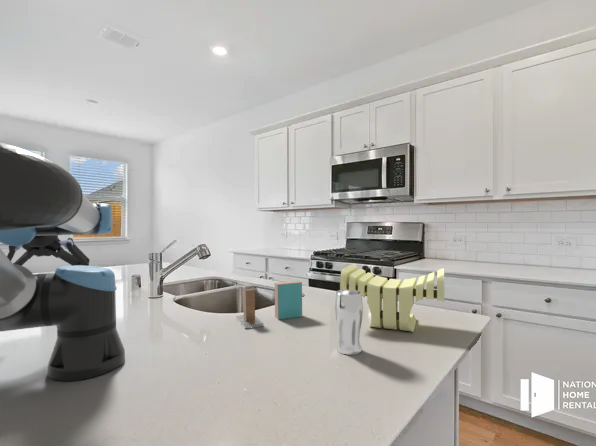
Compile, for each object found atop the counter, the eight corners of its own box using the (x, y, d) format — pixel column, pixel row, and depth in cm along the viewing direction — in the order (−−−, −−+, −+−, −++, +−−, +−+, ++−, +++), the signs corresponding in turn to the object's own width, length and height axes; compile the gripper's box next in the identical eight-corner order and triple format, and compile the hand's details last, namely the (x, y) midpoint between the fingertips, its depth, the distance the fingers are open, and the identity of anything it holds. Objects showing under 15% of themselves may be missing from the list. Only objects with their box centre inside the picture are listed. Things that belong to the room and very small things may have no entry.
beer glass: (368, 349, 85) (367, 291, 85) (353, 358, 80) (352, 296, 80) (345, 343, 90) (345, 288, 90) (330, 350, 85) (329, 292, 85)
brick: (302, 316, 115) (302, 282, 115) (278, 320, 112) (277, 284, 111) (298, 314, 118) (298, 280, 118) (275, 317, 114) (274, 282, 114)
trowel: (263, 326, 105) (263, 292, 105) (245, 329, 103) (244, 294, 102) (253, 316, 116) (252, 285, 116) (236, 319, 114) (235, 287, 113)
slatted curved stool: (340, 326, 104) (340, 269, 104) (352, 313, 119) (352, 263, 119) (444, 339, 92) (444, 275, 92) (444, 322, 107) (443, 267, 107)
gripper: (95, 218, 94) (102, 272, 106) (-19, 219, 84) (2, 278, 96) (91, 234, 89) (99, 289, 101) (-31, 237, 79) (-7, 298, 90)
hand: (52, 284), depth 98 cm, fingers open, 13 cm apart
